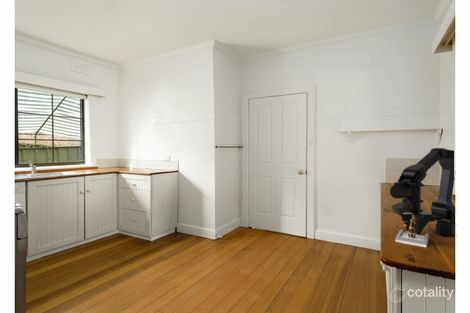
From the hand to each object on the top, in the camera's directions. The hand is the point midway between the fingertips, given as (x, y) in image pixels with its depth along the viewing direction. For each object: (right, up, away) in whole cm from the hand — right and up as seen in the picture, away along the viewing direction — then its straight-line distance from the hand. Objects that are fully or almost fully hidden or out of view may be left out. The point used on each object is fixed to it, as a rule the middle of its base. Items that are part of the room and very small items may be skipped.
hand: (412, 232), depth 115 cm
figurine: (0, -3, +1) cm, 3 cm away
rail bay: (0, -4, 0) cm, 4 cm away
